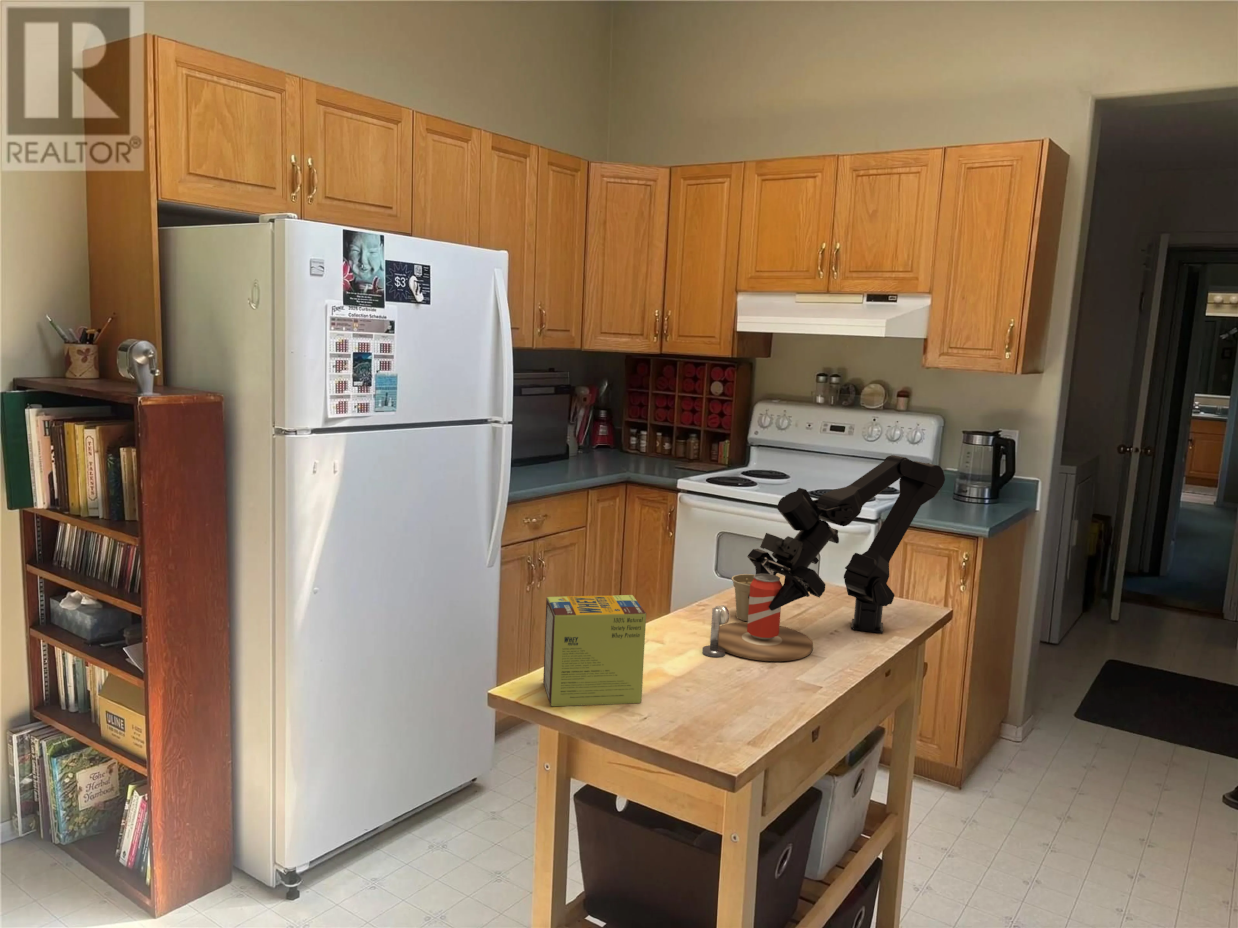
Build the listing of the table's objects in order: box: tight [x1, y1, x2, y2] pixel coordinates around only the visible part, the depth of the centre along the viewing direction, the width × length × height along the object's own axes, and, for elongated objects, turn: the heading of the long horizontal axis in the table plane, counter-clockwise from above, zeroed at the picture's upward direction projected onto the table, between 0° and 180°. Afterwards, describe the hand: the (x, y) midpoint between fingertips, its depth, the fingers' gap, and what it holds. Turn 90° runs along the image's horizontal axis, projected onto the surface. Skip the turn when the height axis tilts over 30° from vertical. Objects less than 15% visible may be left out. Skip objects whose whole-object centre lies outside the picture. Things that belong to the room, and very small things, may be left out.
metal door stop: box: [701, 605, 730, 658], centre depth 173 cm, size 4×4×9 cm
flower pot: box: [731, 573, 755, 622], centre depth 196 cm, size 9×9×9 cm
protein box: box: [542, 594, 647, 707], centre depth 151 cm, size 10×15×16 cm
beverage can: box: [747, 573, 783, 639], centre depth 179 cm, size 6×6×12 cm
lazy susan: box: [718, 621, 814, 662], centre depth 180 cm, size 20×20×1 cm
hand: (759, 604), depth 178 cm, fingers closed on beverage can, 6 cm apart
